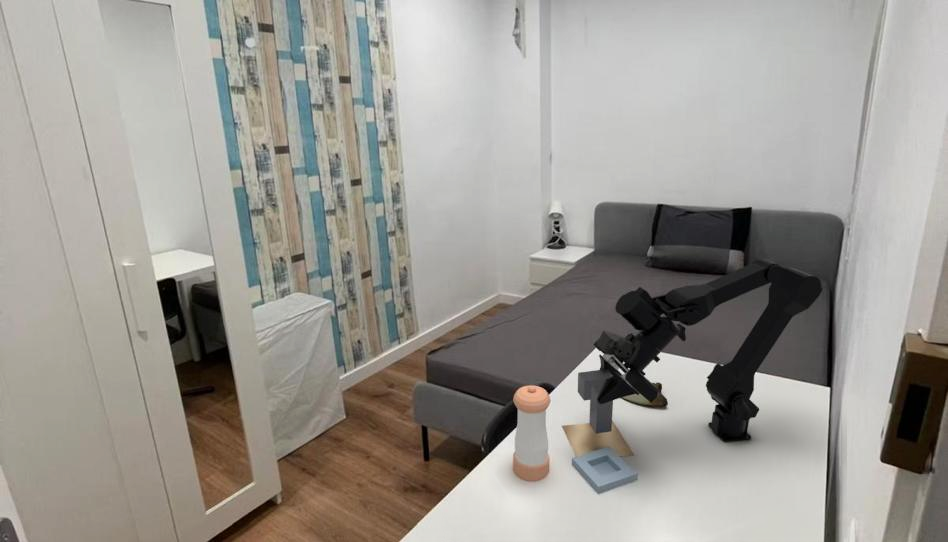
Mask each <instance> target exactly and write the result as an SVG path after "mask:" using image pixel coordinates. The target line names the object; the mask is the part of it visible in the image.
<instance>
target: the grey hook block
mask: <svg viewBox="0 0 948 542" xmlns="http://www.w3.org/2000/svg"><path fill="white" fill-rule="evenodd" d="M613 380H614V376H613V375H612V374H611V373H610V372H609V371H608V370H607V369H603V370H600V369H597V370H596V369H595V370H588V371H581V372H578V373H577V393H578V394H579V395H580V397H581V398H582V400H583V402H584V401H589V424H590V426H591V427H592V429H593V430H594V432H595V433H596V434H598V433H604V432H611V431H612V421H613V411H614V408H613V407H614V400H613V401H610V402H607V403H604V404H600V403H599V402H598V399H599V398H600V396H601V395H602V394H603V392H604V391H605V390H606V389H607V388H608V387H609V385H610V384H611V383H612V382H613Z"/></svg>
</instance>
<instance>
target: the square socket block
mask: <svg viewBox="0 0 948 542" xmlns="http://www.w3.org/2000/svg"><path fill="white" fill-rule="evenodd" d="M571 465H572V466H573V468H574V469H575V470H576V471H577V472H578V473H579V474H580V475H581V477H582V478H584V480H585V481H586V482H587V483H588V484H589V486H590V487H592V488H593V490H594V491H595V492H596V494H599V495H600V494H601V493H604V492H607V491H610V490H612V489H615V488H618V487H621V486H624V485H626V484H627V485H628V484H630V483H632V482H635V481H638V472H637V471H636V470H635V469H633V467H632V466H631V465H629V463H627V462H626V460H624V459H623V458H622V457H620V456H619V455H618V454H617V453H616V452H614V451H613V450H612V449H611V448H610V447H606V448H602V449H599V450H596V451H593V452H590V453H587V454H583V455H580V456H577V457H576V456H575V457H572V458H571Z"/></svg>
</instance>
